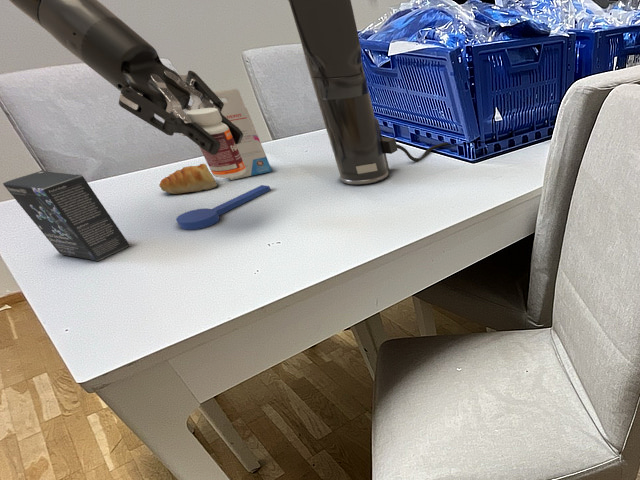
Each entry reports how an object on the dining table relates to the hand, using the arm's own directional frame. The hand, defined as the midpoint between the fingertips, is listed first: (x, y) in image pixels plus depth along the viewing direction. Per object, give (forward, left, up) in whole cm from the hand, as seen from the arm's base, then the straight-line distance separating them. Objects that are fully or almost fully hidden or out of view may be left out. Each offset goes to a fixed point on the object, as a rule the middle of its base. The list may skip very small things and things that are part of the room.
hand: (228, 144), depth 66 cm
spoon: (-4, -12, -12) cm, 17 cm away
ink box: (-21, -23, -12) cm, 33 cm away
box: (+15, -19, -12) cm, 27 cm away
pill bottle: (0, -2, -4) cm, 5 cm away
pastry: (-11, -27, -12) cm, 31 cm away
